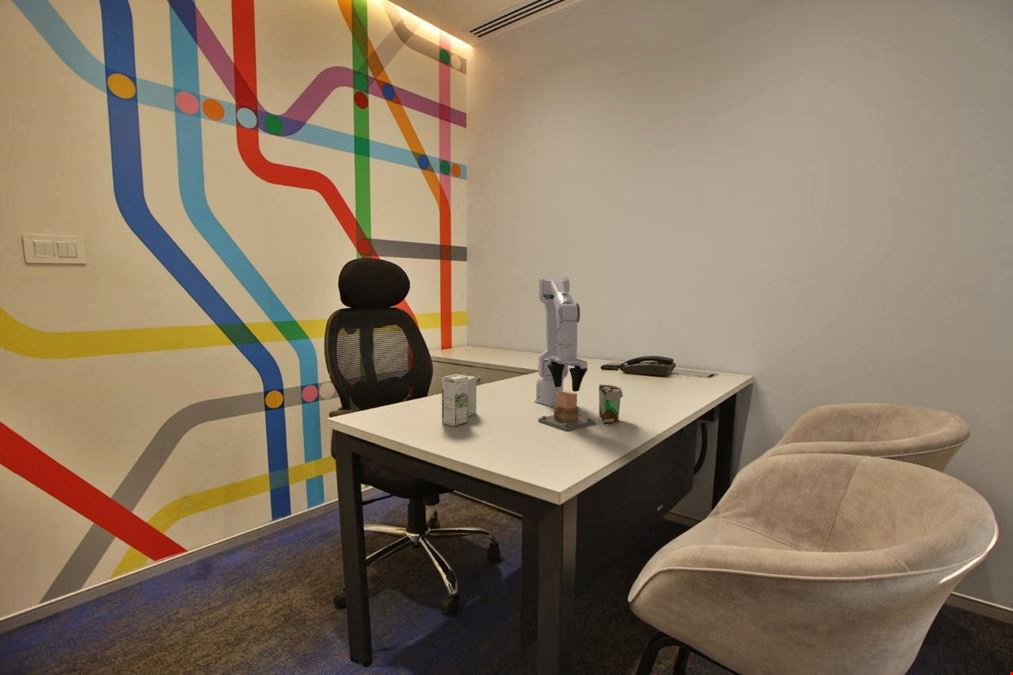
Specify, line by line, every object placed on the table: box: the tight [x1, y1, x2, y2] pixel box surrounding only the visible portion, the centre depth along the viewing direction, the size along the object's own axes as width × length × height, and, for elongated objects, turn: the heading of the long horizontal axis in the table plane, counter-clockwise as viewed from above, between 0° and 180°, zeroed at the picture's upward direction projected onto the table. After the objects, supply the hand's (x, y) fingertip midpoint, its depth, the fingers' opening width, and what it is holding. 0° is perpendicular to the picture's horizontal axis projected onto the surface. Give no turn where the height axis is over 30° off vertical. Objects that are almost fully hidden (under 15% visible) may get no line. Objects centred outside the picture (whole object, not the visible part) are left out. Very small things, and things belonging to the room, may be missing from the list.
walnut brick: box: [553, 405, 580, 423], centre depth 147 cm, size 4×6×4 cm
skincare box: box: [466, 375, 477, 418], centre depth 156 cm, size 6×4×12 cm
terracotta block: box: [556, 390, 578, 409], centre depth 147 cm, size 4×4×4 cm
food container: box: [598, 384, 624, 425], centre depth 149 cm, size 12×6×10 cm, turn 179°
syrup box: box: [441, 373, 469, 427], centre depth 146 cm, size 6×6×14 cm
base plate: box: [537, 414, 596, 432], centre depth 147 cm, size 12×12×2 cm
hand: (566, 388), depth 146 cm, fingers open, 7 cm apart
